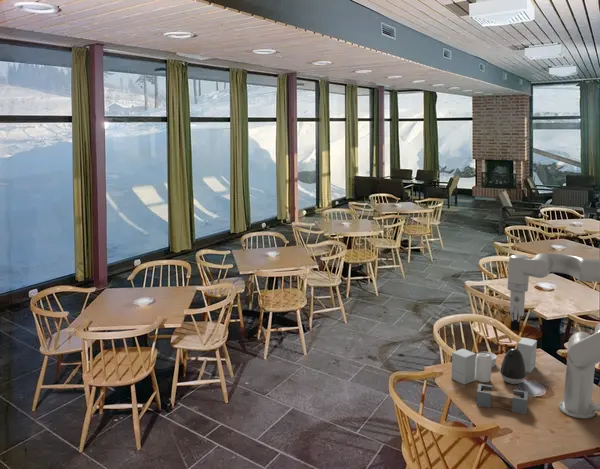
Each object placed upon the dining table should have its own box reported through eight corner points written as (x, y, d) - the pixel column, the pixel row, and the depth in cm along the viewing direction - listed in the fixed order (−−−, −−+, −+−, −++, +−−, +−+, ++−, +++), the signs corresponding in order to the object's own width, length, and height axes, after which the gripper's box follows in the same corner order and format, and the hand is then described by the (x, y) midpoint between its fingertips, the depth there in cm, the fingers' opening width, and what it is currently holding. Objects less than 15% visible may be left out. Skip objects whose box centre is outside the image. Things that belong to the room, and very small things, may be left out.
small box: (521, 363, 246) (522, 337, 244) (535, 366, 242) (537, 340, 240) (515, 369, 240) (517, 342, 237) (530, 373, 236) (532, 346, 233)
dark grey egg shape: (495, 381, 229) (497, 348, 226) (507, 373, 236) (509, 342, 233) (517, 389, 222) (520, 356, 219) (529, 381, 228) (531, 348, 225)
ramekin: (500, 366, 243) (500, 357, 242) (483, 369, 241) (484, 360, 240) (488, 358, 252) (488, 350, 251) (472, 361, 249) (472, 352, 248)
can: (491, 383, 227) (493, 357, 225) (475, 382, 229) (477, 356, 226) (489, 376, 234) (490, 351, 231) (474, 375, 235) (475, 350, 232)
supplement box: (475, 380, 231) (476, 353, 228) (464, 385, 227) (465, 357, 224) (461, 374, 237) (462, 347, 234) (450, 378, 233) (451, 352, 230)
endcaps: (526, 405, 209) (527, 391, 208) (526, 414, 203) (527, 400, 202) (478, 397, 216) (478, 383, 215) (476, 405, 210) (477, 391, 209)
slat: (519, 406, 209) (520, 395, 208) (519, 411, 206) (520, 399, 204) (482, 400, 214) (483, 389, 213) (481, 404, 211) (482, 393, 210)
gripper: (527, 292, 199) (524, 338, 202) (528, 281, 212) (525, 324, 216) (506, 290, 202) (503, 335, 205) (508, 280, 215) (506, 322, 219)
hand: (514, 329), depth 211 cm, fingers closed
